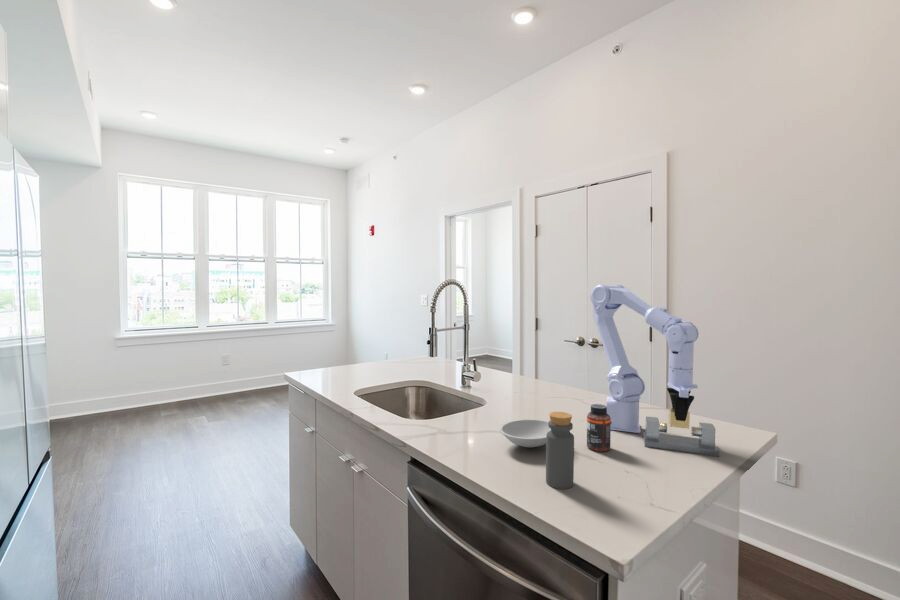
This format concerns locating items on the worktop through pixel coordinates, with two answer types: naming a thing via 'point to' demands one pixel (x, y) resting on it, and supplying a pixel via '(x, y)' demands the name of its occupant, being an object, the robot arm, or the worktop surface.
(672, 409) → the block
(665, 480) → the worktop surface
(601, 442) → the supplement bottle
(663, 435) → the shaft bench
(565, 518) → the worktop surface
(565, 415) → the bottle
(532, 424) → the dish
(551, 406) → the worktop surface
